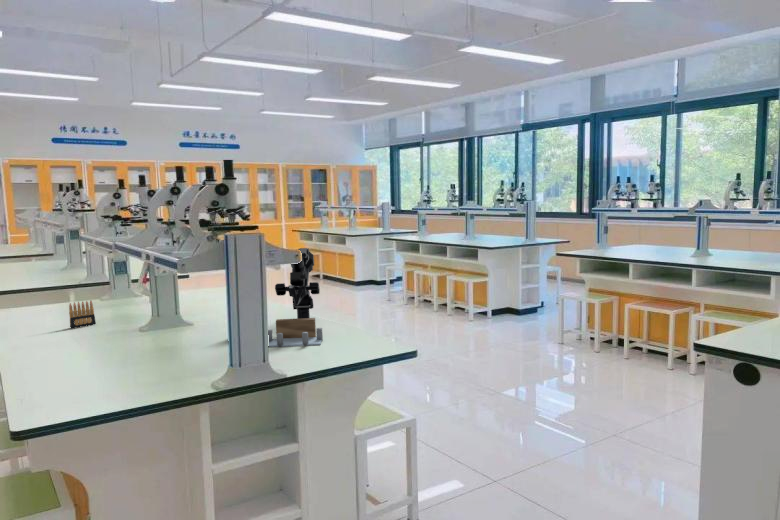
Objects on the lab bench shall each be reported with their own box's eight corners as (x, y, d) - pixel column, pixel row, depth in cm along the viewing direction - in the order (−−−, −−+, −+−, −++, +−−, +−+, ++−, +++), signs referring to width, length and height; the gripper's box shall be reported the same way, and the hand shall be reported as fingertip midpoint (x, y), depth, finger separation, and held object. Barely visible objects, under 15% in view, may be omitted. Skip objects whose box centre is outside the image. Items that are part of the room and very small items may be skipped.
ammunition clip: (70, 328, 270) (68, 303, 268) (70, 328, 271) (67, 302, 269) (95, 324, 276) (93, 300, 275) (95, 324, 278) (92, 299, 276)
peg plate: (267, 340, 239) (267, 328, 238) (323, 338, 239) (322, 326, 239) (263, 347, 228) (262, 335, 228) (321, 345, 229) (320, 332, 229)
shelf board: (277, 337, 243) (276, 319, 242) (316, 336, 243) (315, 317, 242) (276, 339, 240) (275, 321, 239) (315, 338, 240) (314, 319, 239)
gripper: (274, 265, 249) (271, 295, 240) (317, 263, 250) (316, 293, 240) (278, 280, 258) (275, 309, 248) (320, 278, 259) (319, 308, 249)
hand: (296, 305), depth 246 cm, fingers closed
